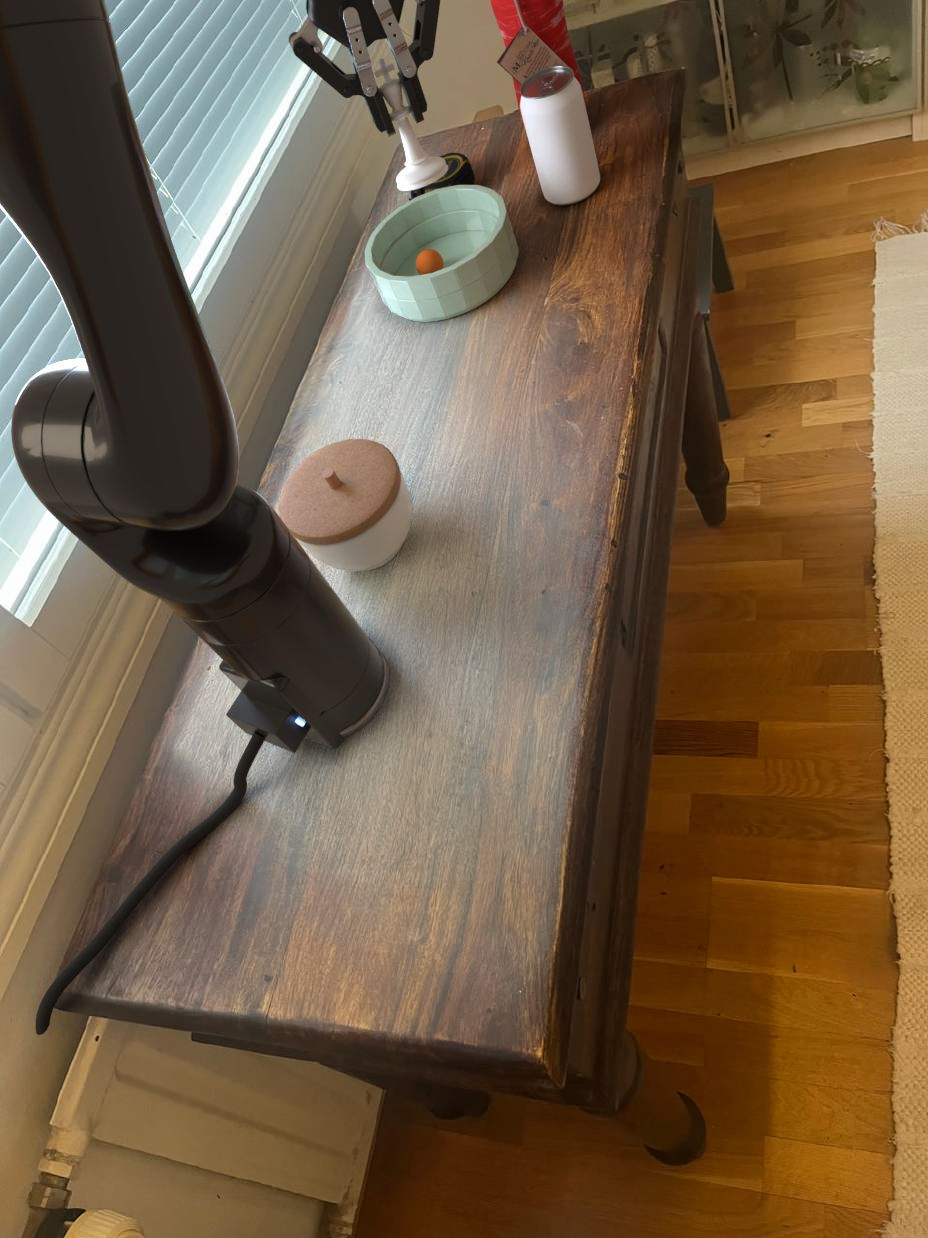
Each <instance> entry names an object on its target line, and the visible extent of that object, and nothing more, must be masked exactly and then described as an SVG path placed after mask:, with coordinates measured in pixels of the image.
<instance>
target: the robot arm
mask: <svg viewBox="0 0 928 1238" xmlns="http://www.w3.org/2000/svg"><path fill="white" fill-rule="evenodd" d="M305 1H306V2H305V10H306V14H307V17H306V19H305V20H304V22H303V23H302V25H301V27H300V28H299V29H298V31H292V32H291V33H290V34H289V36H288V43H289V46H290V48H291V50H292V53H293V54H294V56H295V57H296V58H298V59H299V61H300V62H302V63H303V64H304V65H306V66H307V67H308V69H310V70H311V71H313V72H314V73H315V74H316V75H317V76H319V78H321V79H322V80H323V81H324V82H325V83H327V85H329V86H330V87H332V89H334V90H335V91H336V92H337V93H338V94H339V95H341V96H342V98H345V99H351V98H352V97H353V96H354V97H355V96H361V97H363V99H364V101H365V104H366V106H367V109H368V111H369V115H370V116H371V119H372V122H373V124H374V125H375V127H376V129H377V130H378V131H379V132H380V133H384V132H385V133H386V134H387V136H388V138H390V137H391V136H394V135H396V134H397V131H396V129H395V126H394V124H393V121H392V120H391V118H390V115H389V114H390V112H389V110H388V109H389V108H388V107H387V104H386V102H385V101H386V100H385V98H384V97H383V96H382V93H381V91H380V90H379V86H378V84H377V82H376V77H375V73H374V70H373V68H372V60H371V57H370V54H369V49H368V48H369V47H370V46H371V45H372V44H373V43H374V42H375V41H379V40H385V42H386V44H387V46H388V47H389V51H390V52H391V55H392V57H393V59H394V61H395V63H396V67H397V69H398V72H396V74H397V75H396V76H397V77H398V79H400V80H401V84H402V93H403V94H404V97H405V100H406V103H407V106H409V107H410V109H411V110H412V111H411V113H410V114H411V117H412V118H413V120H414V122H415V123H416V124H419V123H421V122H423V121H425V117H424V115H423V113H426V112H427V111H428V102H427V99H426V96H425V94H424V90H423V87H422V85H421V82H420V78H419V73H418V71H419V68H420V66H422V64H423V63H424V62H425V61H426V62H427V61H430V60H431V59H432V58H433V56H434V52H435V45H436V44H435V43H436V36H437V30H438V22H439V16H440V7H441V0H414V2H415V3H416V7H415V8H416V11H415V16H414V17H415V18H414V27H413V35H412V42H411V43H410V44H409V45H408V43H407V42H406V39H405V36H404V34H403V32H402V29H401V27H400V22H401V17H402V13H403V10H404V9H403V8H404V4H405V0H305ZM110 20H111V19H110V16H109V12H108V8H107V4H106V1H105V0H0V209H1V211H2V212H3V213H4V214H5V215H6V216H7V218H8V219H9V220H10V222H11V223H12V224H13V226H14V227H15V228H16V229H17V230H18V232H19V233H20V234H21V236H22V237H23V238H24V239H25V241H26V242H27V243H28V245H29V246H30V247H31V249H32V250H33V251H34V252H35V255H36V256H37V257H38V259H39V261H40V262H41V263H42V265H43V266H44V268H45V269H46V271H47V272H48V274H49V276H50V279H51V280H52V282H53V284H54V285H55V288H56V289H57V292H58V293H59V295H60V297H61V300H62V303H63V304H64V307H65V309H66V312H67V314H68V316H69V318H70V322H71V324H72V326H73V330H74V332H75V335H76V338H77V341H78V344H79V347H80V349H81V352H82V356H83V357H84V358H73V359H67V360H62V361H58V362H55V363H52V364H50V365H48V366H46V367H44V368H42V369H41V370H40V371H38V372H37V373H36V374H34V375H33V376H31V378H30V379H29V380H28V381H27V382H26V384H24V386H23V387H22V389H21V391H20V393H19V394H18V397H17V398H16V400H15V401H16V402H15V403H14V407H13V410H12V416H11V427H10V428H11V429H10V436H11V444H12V449H13V453H14V457H15V461H16V464H17V467H18V469H19V470H20V471H19V472H20V473H21V475H22V477H23V479H24V480H25V482H26V484H27V487H29V489H30V490H31V491H32V493H33V494H34V496H35V497H36V498H37V500H38V501H39V502H40V503H41V505H42V506H44V507H45V509H46V510H47V511H48V512H49V513H50V514H51V515H52V516H53V517H54V518H55V519H56V520H57V521H58V522H59V523H60V524H62V525H63V527H65V528H66V529H67V530H68V531H69V532H70V533H71V534H72V535H74V537H76V538H77V539H78V540H79V541H80V542H82V544H83V545H85V546H86V547H87V548H88V549H89V550H91V551H92V552H93V553H94V554H95V555H96V556H97V557H98V558H100V560H102V561H103V562H104V563H105V564H106V565H107V566H109V568H111V569H112V570H113V571H114V572H115V573H116V574H117V575H119V576H120V577H121V578H123V580H125V581H126V582H128V583H129V584H131V585H132V586H134V587H135V588H137V589H139V590H140V591H142V592H145V593H146V594H149V595H150V596H152V597H155V598H157V599H158V600H160V601H162V602H163V603H165V604H166V606H168V607H169V608H170V609H171V610H172V611H173V612H174V613H175V614H176V615H177V616H178V617H179V618H180V619H181V620H182V621H183V622H184V623H185V624H186V625H187V626H188V627H189V628H190V629H191V630H192V631H193V632H194V633H195V634H196V635H197V636H198V637H199V638H200V639H201V640H202V641H203V642H204V643H205V644H206V646H207V647H209V648H210V649H211V650H212V651H213V652H214V653H215V654H216V655H217V656H218V657H219V658H220V659H221V662H220V664H219V666H218V668H219V671H220V672H221V673H223V675H225V677H226V678H228V680H230V681H231V683H232V684H233V685H234V686H235V687H237V688H238V689H239V690H240V692H239V694H238V695H237V697H236V698H235V700H234V701H233V703H232V704H231V706H230V707H229V709H228V710H227V712H226V713H225V716H226V717H227V718H229V719H230V720H231V721H232V722H233V723H234V724H235V725H236V726H237V727H238V728H239V729H241V730H242V731H243V732H244V733H245V734H247V735H249V736H251V738H250V739H249V741H248V743H247V745H246V747H245V749H244V751H243V753H242V755H241V757H240V759H239V761H238V763H237V766H236V768H235V771H234V774H233V789H232V790H231V792H230V794H229V795H228V796H227V797H226V799H225V800H224V801H223V802H222V803H221V804H220V805H219V807H218V808H217V809H216V810H215V811H213V812H212V813H211V814H210V815H209V816H208V817H206V818H205V819H204V820H203V821H201V822H200V823H199V824H197V825H196V826H195V827H194V828H193V829H191V830H190V831H189V832H188V833H186V834H185V835H184V836H182V838H181V839H179V840H178V841H176V843H175V844H174V845H173V846H172V847H171V848H169V850H167V851H166V852H165V853H164V854H163V856H161V858H160V859H159V860H158V861H157V862H156V863H155V864H154V865H153V867H152V868H151V869H150V870H149V871H148V872H147V873H146V874H145V875H144V876H143V877H142V879H141V880H140V881H139V882H138V883H137V885H135V887H134V888H133V889H132V891H130V893H129V894H128V896H126V898H125V899H124V901H123V902H122V903H121V904H120V905H119V907H118V908H117V909H116V910H115V912H114V913H113V914H112V915H111V917H110V918H109V919H108V920H107V922H105V924H104V926H103V927H102V928H101V929H100V931H99V932H98V933H97V934H96V935H95V936H94V937H93V939H92V940H91V941H90V942H89V943H88V944H87V945H86V947H85V948H84V949H83V950H82V951H80V953H79V954H78V955H77V956H76V957H75V958H73V960H72V961H71V962H70V963H69V964H68V965H67V966H66V967H65V968H64V969H63V970H62V971H61V973H60V974H59V975H58V976H56V978H55V979H54V981H53V982H52V983H51V985H50V986H49V987H48V988H47V990H46V992H45V993H44V994H43V996H42V999H41V1001H40V1003H39V1005H38V1008H37V1011H36V1014H35V1015H36V1016H35V1034H36V1035H38V1036H41V1035H43V1034H45V1032H46V1031H47V1030H48V1029H49V1026H50V1024H51V1017H52V1014H53V1011H54V1008H55V1006H56V1003H57V1002H58V1000H59V998H60V997H61V996H62V995H63V992H64V991H65V990H66V989H67V988H68V987H69V985H70V984H71V983H72V982H73V981H74V980H75V979H76V977H78V975H79V974H80V973H81V972H83V970H84V969H85V968H86V967H87V966H88V965H89V964H90V963H91V962H92V961H93V960H94V959H95V958H96V956H98V955H99V953H101V951H102V950H103V949H104V948H105V946H107V944H108V943H109V942H110V941H111V940H112V938H113V937H114V936H115V934H116V933H117V932H118V930H120V928H121V927H122V926H123V924H124V923H125V922H126V920H127V919H128V918H129V917H130V916H131V914H132V913H133V912H134V910H136V908H137V906H138V905H139V904H140V903H141V902H142V901H143V899H144V898H145V897H146V896H147V895H148V893H149V892H150V891H151V889H153V887H154V886H155V885H156V883H158V882H159V880H160V879H161V878H162V877H163V876H164V875H165V874H166V873H167V872H168V870H170V868H171V867H172V866H173V865H175V863H176V862H177V861H178V860H179V859H180V858H181V857H182V856H183V855H184V854H185V853H186V852H187V851H189V850H190V849H191V848H192V847H193V846H194V845H196V844H197V843H198V842H200V840H202V839H203V838H205V836H207V835H208V834H209V833H210V832H212V830H214V829H215V828H216V827H217V826H219V825H220V823H222V822H223V821H224V820H225V819H226V818H227V817H228V816H230V814H231V813H232V812H234V810H236V808H237V807H238V806H239V804H241V802H242V800H243V798H244V797H245V796H246V793H247V789H248V780H247V779H248V775H249V773H250V769H251V767H252V766H253V763H254V761H255V759H256V757H257V755H258V754H259V752H260V750H261V748H262V746H263V744H264V742H267V743H269V744H271V745H273V746H276V747H278V748H281V749H284V750H286V751H288V752H290V753H293V754H296V753H297V751H298V749H300V746H301V745H302V743H303V742H304V740H306V741H312V742H314V743H317V744H319V745H322V746H325V747H327V748H330V749H332V750H335V749H337V748H338V747H339V745H340V744H341V742H342V741H343V739H344V738H345V737H347V736H349V735H352V734H354V733H355V732H356V731H359V730H360V729H362V727H364V726H365V725H366V724H367V723H369V722H370V720H371V719H372V718H373V717H374V716H375V715H376V714H377V712H378V711H379V709H380V708H381V706H382V705H383V702H384V701H385V699H386V696H387V693H388V690H389V684H390V669H389V664H388V661H387V660H386V657H385V655H384V654H383V653H382V651H381V650H380V649H379V647H378V646H377V645H376V644H374V642H373V640H372V639H371V638H370V637H369V636H368V635H367V633H366V632H365V630H364V629H363V628H362V626H361V625H360V624H359V622H358V621H357V620H356V618H355V616H353V614H352V613H351V611H350V610H349V609H348V607H347V606H346V605H345V603H344V602H343V601H342V599H341V598H340V597H339V595H338V593H336V591H335V590H334V588H333V587H332V586H331V584H330V583H329V581H327V578H326V577H325V576H324V575H323V573H322V572H321V571H320V569H319V568H318V567H317V566H316V564H315V562H313V560H312V558H311V557H310V556H309V554H308V552H307V551H306V550H305V549H304V548H303V547H302V546H301V544H300V543H299V542H298V541H297V539H296V538H295V537H294V535H293V534H292V533H291V531H290V530H289V529H288V527H287V526H286V525H285V523H284V522H283V521H282V519H281V518H280V516H279V513H277V511H276V510H275V509H274V507H273V506H272V505H271V504H270V502H268V500H267V499H266V498H265V497H263V495H261V494H260V493H259V492H257V491H256V490H254V489H252V488H249V487H248V486H246V485H244V484H242V483H239V482H238V477H239V472H240V445H239V437H238V436H239V435H238V428H237V424H236V418H235V414H234V411H233V407H232V404H231V400H230V396H229V394H228V391H227V387H226V385H225V382H224V379H223V376H222V374H221V371H220V368H219V366H218V363H217V359H216V357H215V355H214V351H213V348H212V346H211V344H210V342H209V338H208V336H207V333H206V331H205V328H204V324H203V323H202V320H201V317H200V315H199V311H198V309H197V307H196V304H195V302H194V299H193V297H192V293H191V291H190V288H189V285H188V283H187V280H186V277H185V275H184V271H183V270H182V267H181V263H180V261H179V258H178V255H177V252H176V249H175V246H174V244H173V241H172V237H171V233H170V231H169V228H168V224H167V222H166V218H165V215H164V212H163V208H162V205H161V202H160V198H159V195H158V191H157V188H156V185H155V182H154V181H155V180H154V178H153V174H152V172H151V167H150V165H149V162H148V158H147V156H146V152H145V149H144V145H143V143H142V139H141V135H140V132H139V128H138V124H137V122H136V117H135V115H134V114H135V113H134V111H133V109H132V107H133V106H132V104H131V100H130V96H129V92H128V89H127V85H126V81H125V77H124V73H123V67H122V65H121V60H120V57H119V51H118V47H117V43H116V40H115V36H114V31H113V26H112V22H111V21H110ZM319 30H320V31H322V32H323V33H325V34H326V35H327V36H328V37H331V38H332V39H334V40H335V41H336V42H338V43H339V44H340V45H342V46H343V47H345V48H347V52H348V56H349V58H350V61H351V65H352V67H353V71H354V73H346V72H345V71H343V70H342V68H340V67H339V66H338V65H337V64H336V63H334V61H332V60H331V59H330V58H329V57H328V56H327V55H326V54H324V53H323V52H322V51H323V48H324V47H323V46H324V45H323V43H322V41H321V39H320V37H319V36H318V35H319V34H318V31H319Z"/></svg>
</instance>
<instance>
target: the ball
mask: <svg viewBox="0 0 928 1238" xmlns="http://www.w3.org/2000/svg"><path fill="white" fill-rule="evenodd" d="M443 267H444V262H443V258H442V256H441V255H440V254H439V253H438V252H437V251H435V250H432V249H427V250H424V251H422V252H421V253H420V254H419V255H418V257H417V259H416V268H417V271H418V273H419V274H420V275H423V274H429V273H433V272H436V271H439V270H441V269H443Z"/></svg>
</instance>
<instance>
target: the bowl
mask: <svg viewBox="0 0 928 1238" xmlns="http://www.w3.org/2000/svg"><path fill="white" fill-rule="evenodd" d="M506 206H507V205H506V203H505V199H504V198H503V197H502V196H501V195H500V194H499V193H497V192H496V191H495V190H494V189H493V188H490V187H487V186H483V185H479V184H474V185H455V186H450V187H445V188H440V189H436V190H433V191H431V192H428V193H425V194H423V195H420V196H418V197H415V198H414V199H412V200H410V201H409V200H408V201H407V202H405V203H403V204H402V205H400V206H398V207H397V208H395V209H394V210H393V211H392V212H391V213H390V214H388V216H386V217H385V218H383V219H382V221H381V222H379V223H378V224H377V226H376V228H375V229H374V230H373V232H372V233H371V234H370V235H369V238H368V241H367V243H366V246H365V249H364V260H365V265H366V266H365V267H366V269H367V270H368V272H369V274H370V277H371V278H372V281H373V283H374V286H375V287H376V289H377V291H378V294H379V295H380V298H381V300H382V302H383V303H384V305H385V306H386V307H387V308H388V310H389V311H390V312H391V313H393V314H395V315H397V316H399V317H401V318H404V319H406V320H408V321H414V322H421V323H422V322H423V323H424V322H425V323H428V322H438V321H444V320H448V319H452V318H455V317H458V316H462V315H463V314H467V313H468V312H471V311H473V310H475V309H476V308H478V307H480V306H481V305H483V304H484V303H486V302H488V301H489V300H490V299H492V298H493V297H494V296H495V295H496V294H497V293H499V292H500V291H501V289H502V288H503V287H504V286H505V285H506V284H507V283H508V282H509V279H510V278H511V276H512V275H513V273H514V270H515V268H516V266H517V263H518V257H519V252H520V250H519V249H520V248H519V246H518V243H517V239H516V236H515V232H514V229H513V227H512V223H511V220H510V216H509V213H508V210H507V207H506ZM427 249H432V250H435V251H437V252H438V253H439V254H440V255H441V256H442V258H443V262H444V267H443V269H441V270H439V271H436V272H433V273H429V274H423V275H420V274H419V273H418V271H417V268H416V259H417V257H418V255H419V254H420V253H421V252H422V251H424V250H427Z"/></svg>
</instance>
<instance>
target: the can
mask: <svg viewBox="0 0 928 1238" xmlns="http://www.w3.org/2000/svg"><path fill="white" fill-rule="evenodd" d="M520 94H521V101H520V109H521V114H522V118H523V121H522V123H523V122H524V125H525V128H524V130H525V132H526V133H525V134H526V136H527V140H528V143H529V147H530V151H531V154H532V155H531V156H532V159H533V162H534V166H535V169H536V170H535V171H536V173H537V177H538V180H539V184H540V187H541V191H542V194H543V197H544V199H545V200H546V201H547V202H549V203H550V204H552V205H554V206H562V207H563V206H571V205H575V204H577V203H580V202H582V201H584V200H586V199H587V198H590V197H591V196H592V195H593V194H594V192H595V191H596V190H597V189H598V186H599V185H600V182H601V173H600V168H599V164H598V163H599V162H598V159H597V154H596V149H595V145H594V140H593V135H592V131H591V126H590V121H589V116H588V111H587V109H586V107H587V106H586V107H585V102H586V101H585V102H584V98H583V93H582V89H581V86H580V84H579V82H578V81H577V79H576V78H575V77H574V72H573V70H572V69H571V68H570V67H567V66H552V67H548V68H545V69H542V70H540V71H537V72H536V73H534V74H532V75H531V76H529V77H528V78H527V79H526V80H525V81H524V82H523V83H522V85H521V87H520ZM521 114H520V115H521ZM522 118H521V119H522ZM524 125H523V126H524Z"/></svg>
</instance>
